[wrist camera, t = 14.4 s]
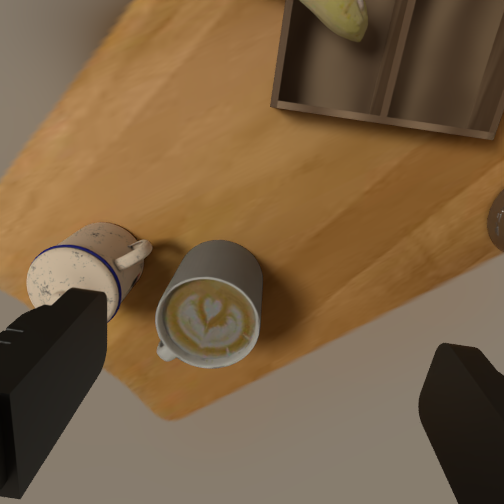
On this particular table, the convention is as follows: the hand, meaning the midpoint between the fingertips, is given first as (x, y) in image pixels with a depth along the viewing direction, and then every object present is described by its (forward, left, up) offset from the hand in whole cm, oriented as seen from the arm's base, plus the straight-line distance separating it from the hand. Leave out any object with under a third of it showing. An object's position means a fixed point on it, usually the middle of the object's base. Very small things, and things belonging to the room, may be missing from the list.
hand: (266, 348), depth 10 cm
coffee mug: (+5, +16, -34) cm, 38 cm away
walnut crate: (-9, -12, -34) cm, 37 cm away
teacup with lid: (+16, +13, -34) cm, 40 cm away
